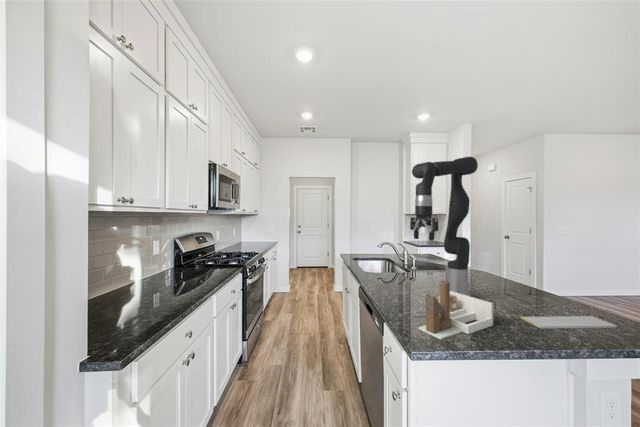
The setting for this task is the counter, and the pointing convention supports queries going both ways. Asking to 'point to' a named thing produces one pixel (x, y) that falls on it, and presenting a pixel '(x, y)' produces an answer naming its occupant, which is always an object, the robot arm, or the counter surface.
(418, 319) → the counter surface
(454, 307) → the offcut stack
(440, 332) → the sage mat
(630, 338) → the counter surface
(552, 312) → the counter surface
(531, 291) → the counter surface
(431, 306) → the wooden block
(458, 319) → the offcut rack
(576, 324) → the baseboard
